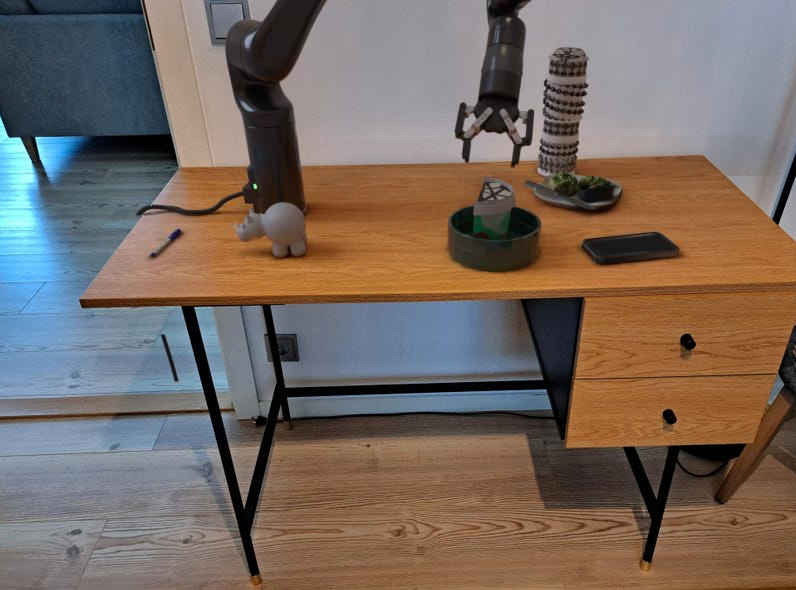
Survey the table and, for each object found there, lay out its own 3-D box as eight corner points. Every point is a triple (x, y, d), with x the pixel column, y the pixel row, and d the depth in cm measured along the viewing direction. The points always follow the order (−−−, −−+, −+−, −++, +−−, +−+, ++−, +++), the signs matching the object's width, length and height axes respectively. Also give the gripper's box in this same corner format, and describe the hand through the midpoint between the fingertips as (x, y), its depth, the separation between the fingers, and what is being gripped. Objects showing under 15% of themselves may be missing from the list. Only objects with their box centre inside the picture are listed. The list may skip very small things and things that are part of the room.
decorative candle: (544, 180, 139) (557, 55, 124) (529, 166, 146) (540, 46, 131) (583, 177, 140) (601, 52, 126) (566, 163, 148) (581, 44, 133)
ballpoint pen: (177, 232, 118) (176, 227, 117) (182, 232, 117) (181, 227, 117) (150, 258, 109) (148, 252, 109) (155, 258, 109) (153, 252, 108)
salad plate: (509, 203, 128) (511, 180, 126) (538, 175, 141) (540, 154, 139) (605, 220, 121) (609, 197, 119) (626, 189, 134) (630, 168, 132)
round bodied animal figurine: (243, 243, 114) (234, 197, 109) (311, 241, 114) (305, 195, 109) (235, 261, 108) (226, 213, 103) (307, 259, 108) (301, 212, 103)
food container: (508, 263, 105) (513, 205, 99) (471, 260, 106) (473, 202, 100) (515, 232, 115) (520, 178, 109) (481, 229, 116) (484, 175, 110)
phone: (580, 239, 112) (658, 231, 114) (579, 245, 113) (657, 236, 115) (599, 259, 106) (682, 250, 108) (598, 265, 106) (680, 256, 109)
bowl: (443, 269, 105) (443, 238, 102) (452, 230, 118) (452, 201, 115) (538, 274, 104) (542, 243, 101) (537, 234, 117) (540, 205, 113)
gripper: (538, 90, 121) (526, 174, 121) (463, 83, 122) (452, 166, 122) (541, 71, 114) (529, 161, 113) (462, 63, 115) (450, 152, 115)
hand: (489, 163), depth 118 cm, fingers open, 8 cm apart
